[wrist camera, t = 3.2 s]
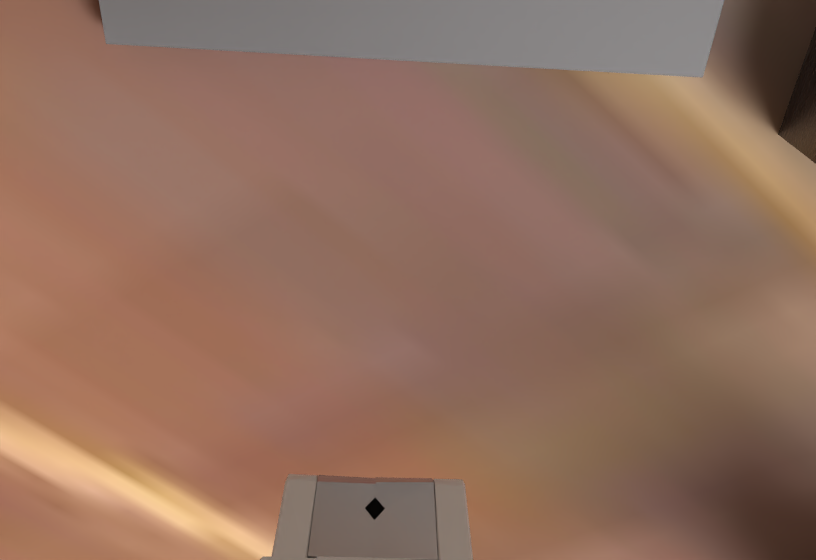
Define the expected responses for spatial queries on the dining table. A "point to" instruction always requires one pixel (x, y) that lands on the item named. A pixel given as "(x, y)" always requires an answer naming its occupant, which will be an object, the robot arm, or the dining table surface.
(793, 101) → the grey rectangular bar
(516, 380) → the dining table surface
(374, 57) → the board
